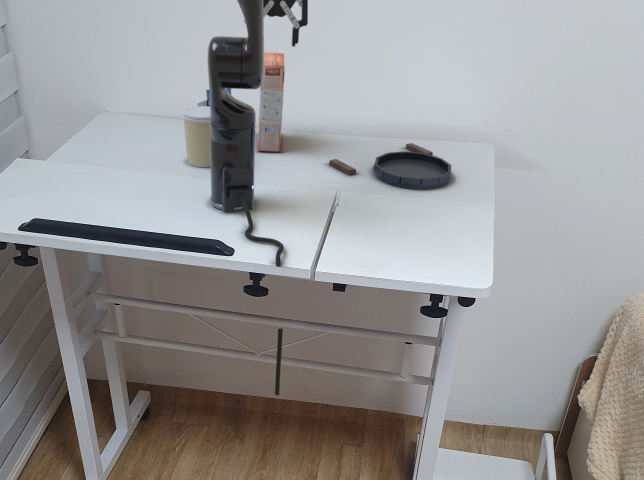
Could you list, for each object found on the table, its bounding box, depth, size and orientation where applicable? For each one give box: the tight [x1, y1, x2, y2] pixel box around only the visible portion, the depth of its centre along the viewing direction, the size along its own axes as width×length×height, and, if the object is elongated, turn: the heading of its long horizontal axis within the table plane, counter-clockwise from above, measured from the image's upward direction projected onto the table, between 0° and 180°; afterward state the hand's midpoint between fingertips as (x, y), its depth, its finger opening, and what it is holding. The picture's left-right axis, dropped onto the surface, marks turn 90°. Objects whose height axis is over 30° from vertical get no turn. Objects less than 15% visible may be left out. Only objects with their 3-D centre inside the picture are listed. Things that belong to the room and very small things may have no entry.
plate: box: [373, 150, 452, 190], centre depth 173 cm, size 18×18×3 cm
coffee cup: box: [182, 105, 211, 168], centre depth 173 cm, size 9×9×12 cm
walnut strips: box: [328, 142, 434, 176], centre depth 180 cm, size 8×27×1 cm, turn 123°
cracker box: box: [257, 51, 286, 153], centre depth 182 cm, size 14×6×21 cm, turn 179°
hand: (275, 45), depth 166 cm, fingers open, 8 cm apart
